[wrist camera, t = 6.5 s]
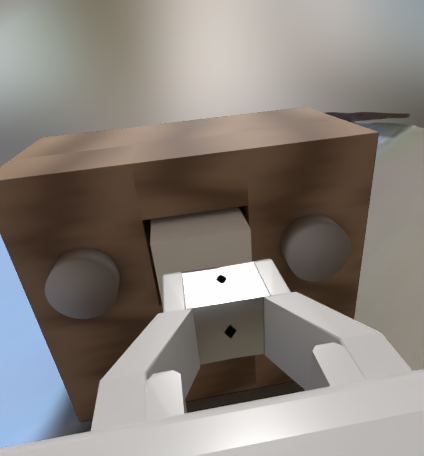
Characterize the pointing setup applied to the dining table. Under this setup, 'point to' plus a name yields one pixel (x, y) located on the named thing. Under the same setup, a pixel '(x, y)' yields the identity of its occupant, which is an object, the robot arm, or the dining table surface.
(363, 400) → the robot arm
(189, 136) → the wooden block with knobs
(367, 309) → the dining table surface
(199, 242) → the cream button
